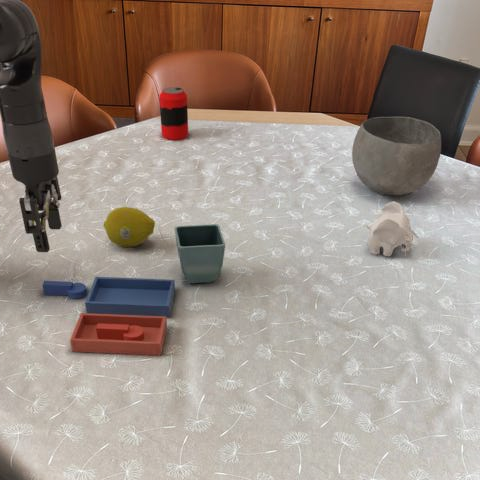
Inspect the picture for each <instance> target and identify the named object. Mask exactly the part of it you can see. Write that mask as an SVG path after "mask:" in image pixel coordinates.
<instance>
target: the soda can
mask: <svg viewBox="0 0 480 480" xmlns="http://www.w3.org/2000/svg"><path fill="white" fill-rule="evenodd" d="M158 96H159V113H160V129H161V137H162V138H164V140H165V139H166V140H169V141H181V140H184V139H187V137H188V136H189V114H188V113H189V112H188V95H187V93H186V92H185V90H184V89H183V88H181V87H177V86H169V87H165V88H163V89H162V90H161V92H160V94H159V95H158Z"/></svg>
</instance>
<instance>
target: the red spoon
mask: <svg viewBox="0 0 480 480" xmlns="http://www.w3.org/2000/svg"><path fill="white" fill-rule="evenodd" d="M96 331H97V338H98V339H118V340H126V341H142V340H143V339H144V330H143V328H142V327H140V326H136V325H132V326H129V325H124V324H100V323H98V324H97V327H96Z"/></svg>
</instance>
